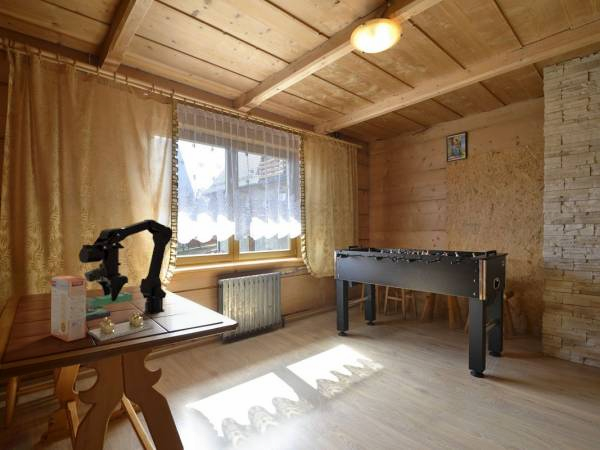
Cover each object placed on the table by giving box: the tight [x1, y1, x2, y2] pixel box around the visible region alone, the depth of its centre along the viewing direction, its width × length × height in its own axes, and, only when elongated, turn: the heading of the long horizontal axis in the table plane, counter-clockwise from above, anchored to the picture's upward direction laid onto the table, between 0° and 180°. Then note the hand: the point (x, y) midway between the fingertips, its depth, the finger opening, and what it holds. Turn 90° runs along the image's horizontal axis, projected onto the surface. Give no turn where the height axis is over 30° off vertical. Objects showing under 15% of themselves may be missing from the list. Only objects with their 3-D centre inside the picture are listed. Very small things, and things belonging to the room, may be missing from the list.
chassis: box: [88, 311, 155, 342], centre depth 114 cm, size 18×12×6 cm, turn 141°
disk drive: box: [86, 306, 111, 322], centre depth 134 cm, size 10×3×15 cm
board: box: [86, 291, 133, 307], centre depth 121 cm, size 14×6×2 cm, turn 141°
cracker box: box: [50, 275, 87, 343], centre depth 108 cm, size 14×6×21 cm, turn 57°
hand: (110, 299), depth 121 cm, fingers closed on board, 6 cm apart
